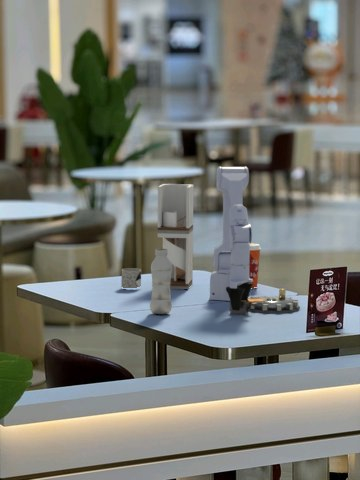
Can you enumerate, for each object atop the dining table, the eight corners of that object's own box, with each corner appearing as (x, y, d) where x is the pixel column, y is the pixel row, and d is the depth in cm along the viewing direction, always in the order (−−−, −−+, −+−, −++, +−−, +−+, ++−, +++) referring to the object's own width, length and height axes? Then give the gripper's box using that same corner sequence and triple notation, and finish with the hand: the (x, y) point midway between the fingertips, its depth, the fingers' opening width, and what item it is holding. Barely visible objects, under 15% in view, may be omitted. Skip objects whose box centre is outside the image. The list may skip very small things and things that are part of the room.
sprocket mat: (232, 310, 382) (232, 308, 382) (248, 301, 399) (248, 298, 399) (292, 315, 376) (292, 312, 376) (305, 305, 393) (305, 302, 393)
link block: (230, 314, 378) (230, 300, 377) (232, 312, 380) (233, 298, 380) (245, 315, 376) (245, 301, 375) (248, 313, 379) (248, 300, 378)
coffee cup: (258, 290, 420) (259, 246, 418) (234, 289, 421) (235, 245, 419) (261, 286, 428) (262, 243, 426) (238, 285, 429) (239, 242, 427)
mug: (140, 290, 416) (140, 271, 415) (120, 290, 416) (120, 271, 415) (141, 285, 426) (141, 266, 425) (122, 285, 426) (122, 266, 425)
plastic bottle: (149, 312, 379) (149, 247, 376) (171, 311, 379) (171, 247, 377) (150, 316, 372) (150, 250, 370) (172, 316, 373) (173, 250, 370)
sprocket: (272, 312, 375) (272, 297, 374) (233, 304, 388) (233, 290, 387) (309, 306, 387) (309, 291, 386) (270, 298, 399) (270, 284, 398)
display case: (162, 283, 431) (163, 183, 426) (192, 284, 429) (193, 184, 425) (157, 288, 420) (158, 186, 415) (188, 290, 418) (189, 187, 414)
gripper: (246, 268, 368) (245, 313, 370) (258, 261, 382) (258, 304, 383) (223, 267, 370) (222, 311, 372) (237, 260, 384) (236, 303, 386)
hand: (239, 308), depth 378 cm, fingers open, 7 cm apart
